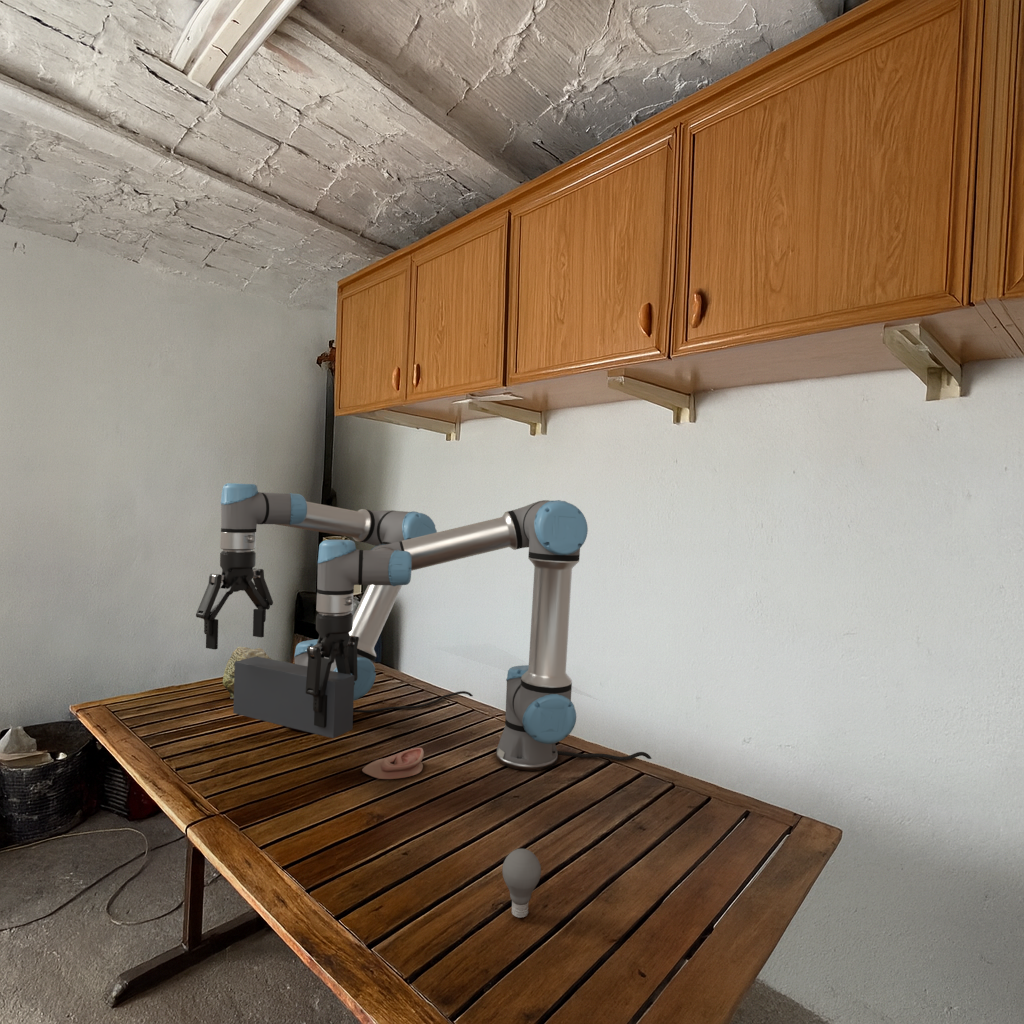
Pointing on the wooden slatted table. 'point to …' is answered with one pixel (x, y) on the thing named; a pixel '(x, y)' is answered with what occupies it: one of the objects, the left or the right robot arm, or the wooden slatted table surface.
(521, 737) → the right robot arm
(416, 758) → the anatomical model
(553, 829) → the wooden slatted table surface
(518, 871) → the light bulb
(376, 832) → the wooden slatted table surface
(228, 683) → the fossil
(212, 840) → the wooden slatted table surface
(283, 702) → the box
